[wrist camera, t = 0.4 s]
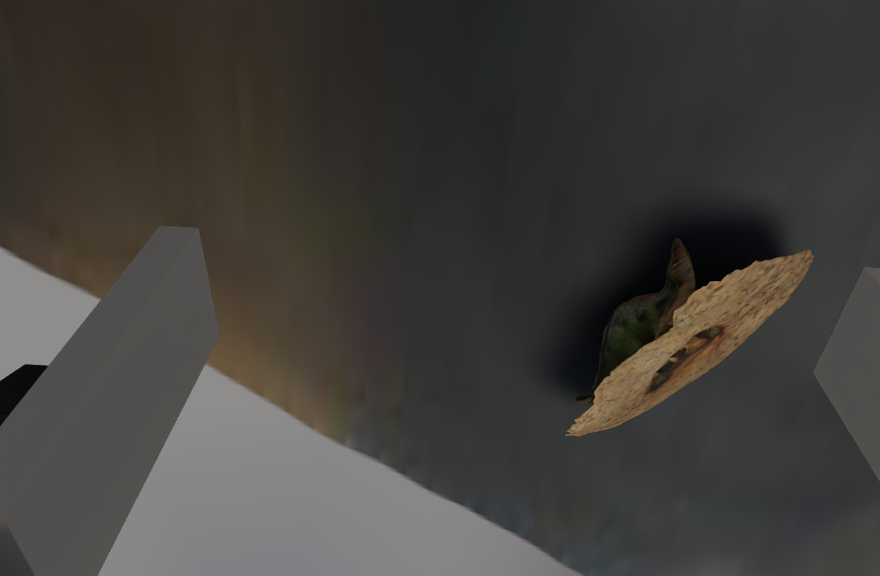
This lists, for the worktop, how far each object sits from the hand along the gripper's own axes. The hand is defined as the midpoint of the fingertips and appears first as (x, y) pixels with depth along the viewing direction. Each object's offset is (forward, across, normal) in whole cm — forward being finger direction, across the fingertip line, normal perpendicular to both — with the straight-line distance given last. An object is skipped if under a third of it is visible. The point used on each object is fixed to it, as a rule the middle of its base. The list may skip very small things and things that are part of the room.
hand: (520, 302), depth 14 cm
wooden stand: (+26, +12, -16) cm, 33 cm away
